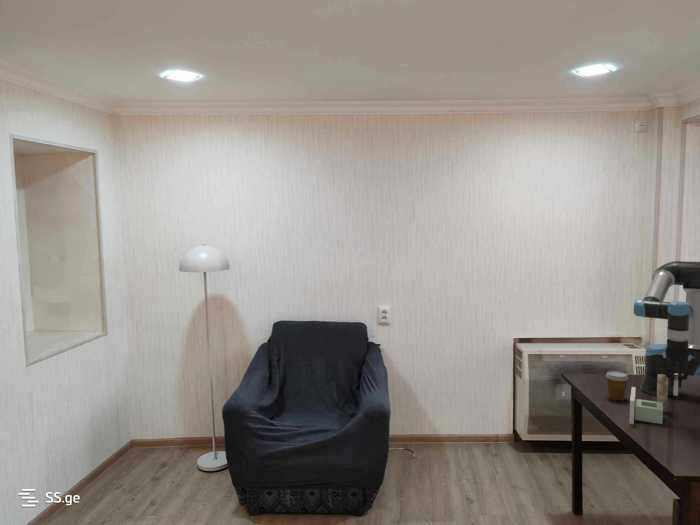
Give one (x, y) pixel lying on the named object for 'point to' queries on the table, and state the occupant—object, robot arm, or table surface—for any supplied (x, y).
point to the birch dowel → (662, 390)
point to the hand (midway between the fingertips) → (675, 394)
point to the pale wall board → (632, 405)
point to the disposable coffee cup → (616, 384)
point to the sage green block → (649, 411)
